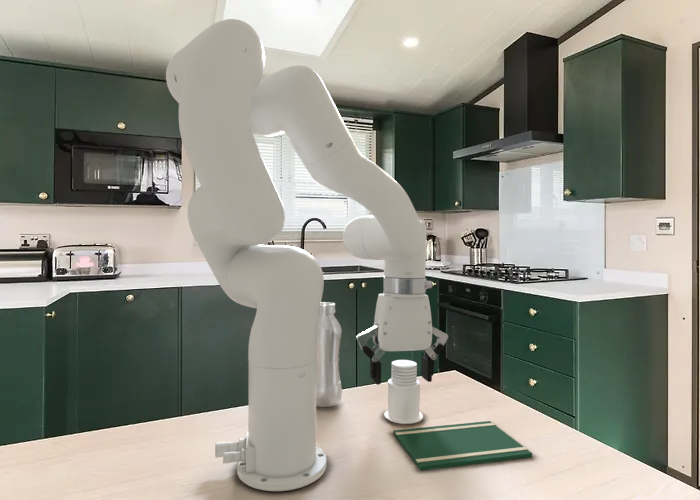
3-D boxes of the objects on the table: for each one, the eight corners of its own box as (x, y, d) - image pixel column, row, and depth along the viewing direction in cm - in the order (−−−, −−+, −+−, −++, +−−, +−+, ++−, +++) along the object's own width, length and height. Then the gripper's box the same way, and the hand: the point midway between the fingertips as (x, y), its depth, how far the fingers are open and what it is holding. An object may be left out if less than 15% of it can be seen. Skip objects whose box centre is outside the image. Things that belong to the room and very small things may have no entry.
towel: (420, 470, 62) (420, 465, 62) (393, 433, 74) (393, 429, 74) (532, 457, 66) (532, 452, 66) (489, 424, 78) (489, 420, 78)
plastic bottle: (338, 412, 83) (338, 306, 82) (303, 409, 84) (304, 305, 84) (345, 400, 89) (346, 301, 89) (313, 397, 90) (313, 300, 90)
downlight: (426, 426, 77) (426, 370, 77) (386, 426, 77) (386, 369, 77) (419, 409, 85) (420, 357, 85) (382, 408, 85) (383, 357, 85)
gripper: (439, 285, 86) (437, 372, 86) (353, 285, 82) (350, 377, 82) (457, 289, 78) (454, 385, 79) (363, 289, 74) (361, 390, 75)
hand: (401, 380), depth 80 cm, fingers open, 9 cm apart
